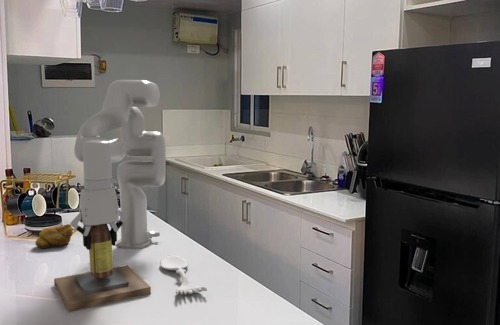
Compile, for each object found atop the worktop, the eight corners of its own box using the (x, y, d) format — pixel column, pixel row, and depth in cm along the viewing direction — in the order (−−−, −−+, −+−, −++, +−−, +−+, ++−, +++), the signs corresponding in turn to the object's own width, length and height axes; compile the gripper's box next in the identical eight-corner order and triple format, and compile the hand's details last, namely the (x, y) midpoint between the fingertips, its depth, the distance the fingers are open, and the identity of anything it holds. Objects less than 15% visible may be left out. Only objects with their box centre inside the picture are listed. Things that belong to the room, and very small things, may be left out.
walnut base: (127, 271, 149) (127, 262, 149) (150, 293, 133) (150, 283, 132) (54, 285, 137) (53, 275, 137) (69, 311, 121) (68, 300, 120)
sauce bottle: (117, 272, 136) (116, 206, 134) (104, 280, 131) (102, 211, 128) (98, 269, 139) (97, 204, 136) (84, 277, 133) (82, 208, 130)
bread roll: (38, 251, 167) (37, 230, 166) (31, 244, 174) (30, 224, 173) (75, 245, 174) (74, 224, 173) (67, 239, 182) (66, 218, 181)
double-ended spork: (176, 303, 127) (176, 291, 127) (157, 263, 157) (157, 253, 156) (208, 299, 130) (208, 287, 130) (184, 261, 160) (184, 251, 159)
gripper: (124, 179, 139) (126, 238, 141) (62, 185, 129) (65, 247, 132) (133, 183, 132) (134, 245, 135) (68, 189, 123) (71, 255, 126)
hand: (100, 245), depth 133 cm, fingers open, 6 cm apart
